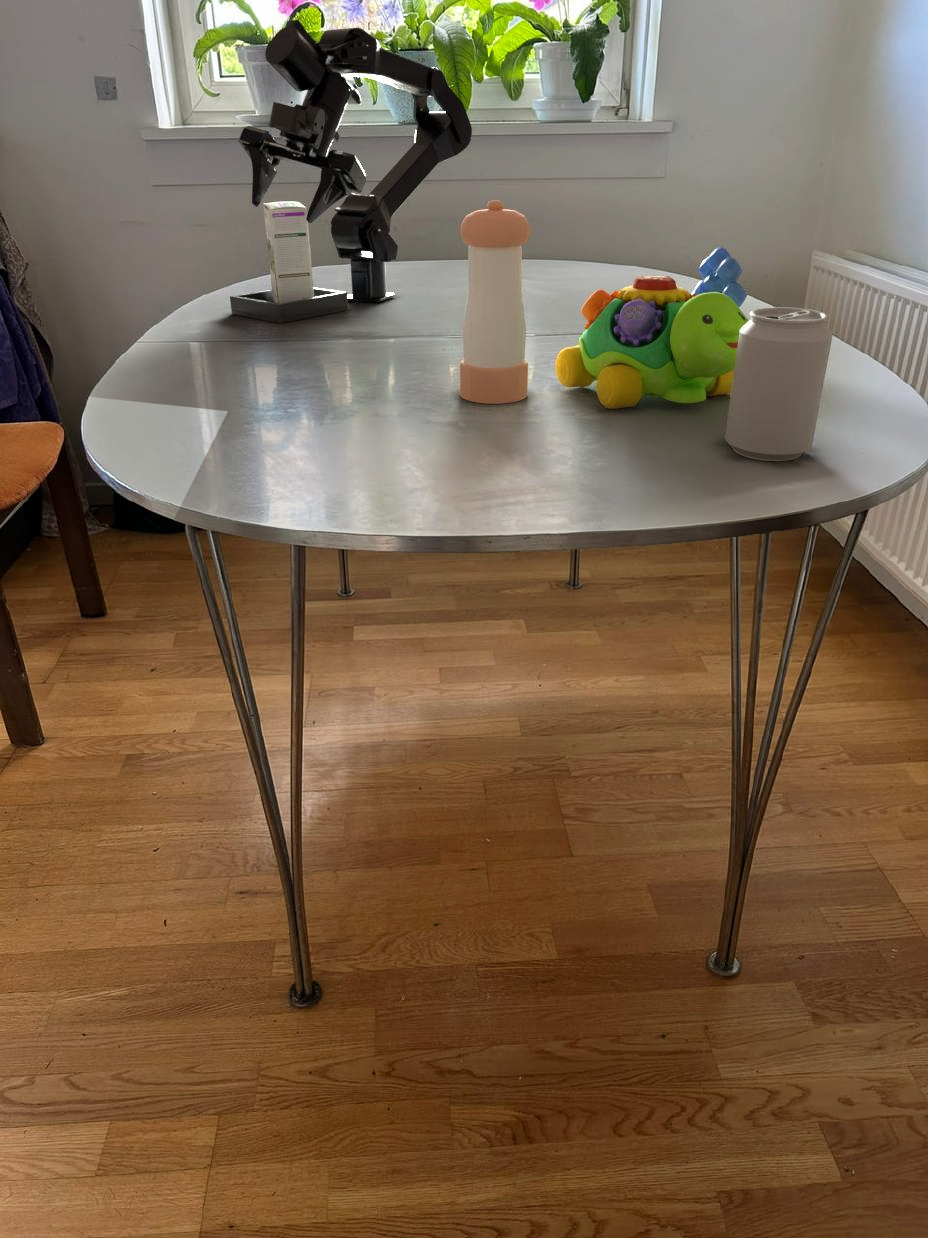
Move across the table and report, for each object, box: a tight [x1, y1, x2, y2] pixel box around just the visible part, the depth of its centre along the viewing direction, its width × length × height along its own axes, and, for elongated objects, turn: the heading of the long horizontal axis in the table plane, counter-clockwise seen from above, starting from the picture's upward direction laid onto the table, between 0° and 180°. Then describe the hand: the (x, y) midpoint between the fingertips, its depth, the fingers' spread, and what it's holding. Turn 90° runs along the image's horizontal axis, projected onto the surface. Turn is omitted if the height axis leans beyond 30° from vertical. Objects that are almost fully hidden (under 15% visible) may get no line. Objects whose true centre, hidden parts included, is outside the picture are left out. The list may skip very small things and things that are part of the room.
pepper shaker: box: [459, 199, 532, 405], centre depth 94 cm, size 7×7×19 cm
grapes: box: [690, 246, 748, 308], centre depth 115 cm, size 12×7×12 cm, turn 10°
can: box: [724, 306, 834, 462], centre depth 79 cm, size 8×8×12 cm
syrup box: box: [262, 200, 315, 304], centre depth 138 cm, size 6×6×14 cm
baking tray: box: [229, 287, 349, 324], centre depth 141 cm, size 14×12×3 cm
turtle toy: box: [555, 275, 750, 410], centre depth 95 cm, size 17×23×12 cm
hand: (281, 213), depth 133 cm, fingers open, 9 cm apart
